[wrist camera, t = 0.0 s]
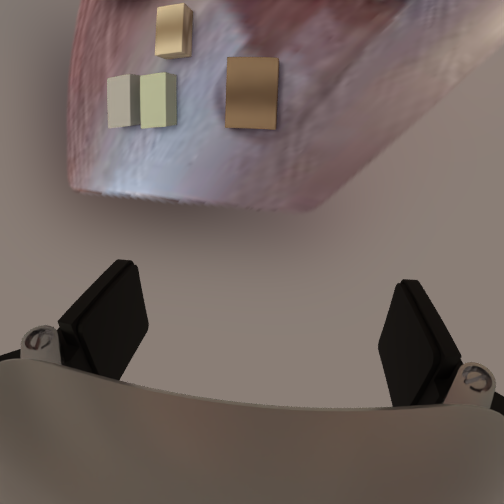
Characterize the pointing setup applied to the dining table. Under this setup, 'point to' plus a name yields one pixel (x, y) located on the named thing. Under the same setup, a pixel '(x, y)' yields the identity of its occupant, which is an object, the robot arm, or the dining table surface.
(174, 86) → the sage brick
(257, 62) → the walnut base
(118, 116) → the grey brick
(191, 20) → the beech brick
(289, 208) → the dining table surface
